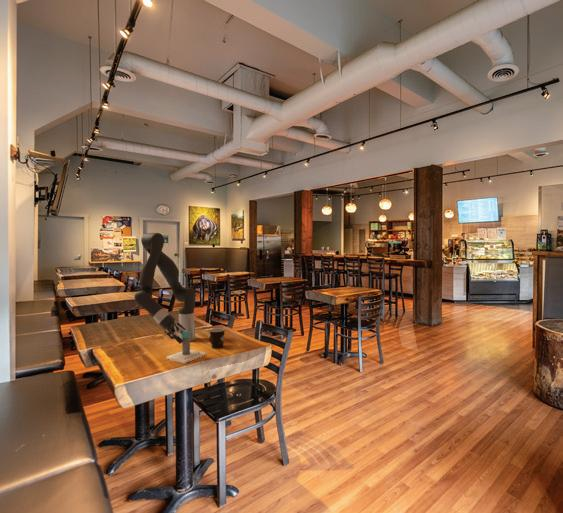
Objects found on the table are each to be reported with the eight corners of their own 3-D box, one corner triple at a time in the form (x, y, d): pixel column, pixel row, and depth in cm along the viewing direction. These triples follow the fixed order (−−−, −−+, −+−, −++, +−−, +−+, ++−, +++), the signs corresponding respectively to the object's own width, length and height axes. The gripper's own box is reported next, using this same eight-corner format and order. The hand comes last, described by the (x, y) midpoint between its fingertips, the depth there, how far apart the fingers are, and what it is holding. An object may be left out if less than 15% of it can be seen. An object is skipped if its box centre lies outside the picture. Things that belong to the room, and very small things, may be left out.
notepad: (187, 351, 184) (187, 348, 184) (206, 355, 176) (206, 352, 176) (166, 359, 171) (166, 356, 171) (184, 363, 164) (184, 361, 164)
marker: (186, 352, 178) (186, 330, 178) (191, 353, 176) (191, 331, 176) (180, 354, 174) (180, 332, 174) (185, 355, 172) (185, 333, 172)
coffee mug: (219, 344, 197) (219, 327, 197) (227, 347, 191) (227, 330, 190) (202, 348, 189) (202, 331, 188) (210, 351, 183) (210, 333, 182)
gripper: (162, 316, 168) (184, 339, 168) (174, 311, 183) (194, 332, 182) (153, 326, 169) (174, 349, 168) (165, 320, 183) (185, 341, 182)
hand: (184, 340), depth 175 cm, fingers open, 8 cm apart
